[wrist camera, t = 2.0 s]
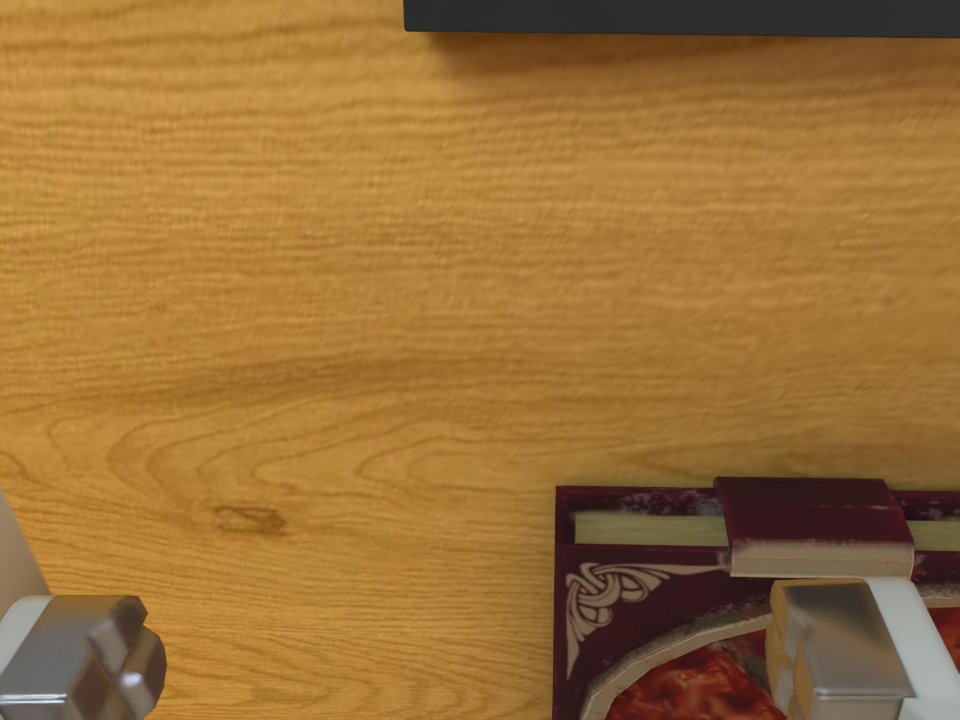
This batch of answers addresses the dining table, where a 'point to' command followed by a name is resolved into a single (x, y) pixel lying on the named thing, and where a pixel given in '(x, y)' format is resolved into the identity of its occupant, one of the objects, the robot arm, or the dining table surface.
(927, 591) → the book
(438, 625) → the dining table surface
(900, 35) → the scale
